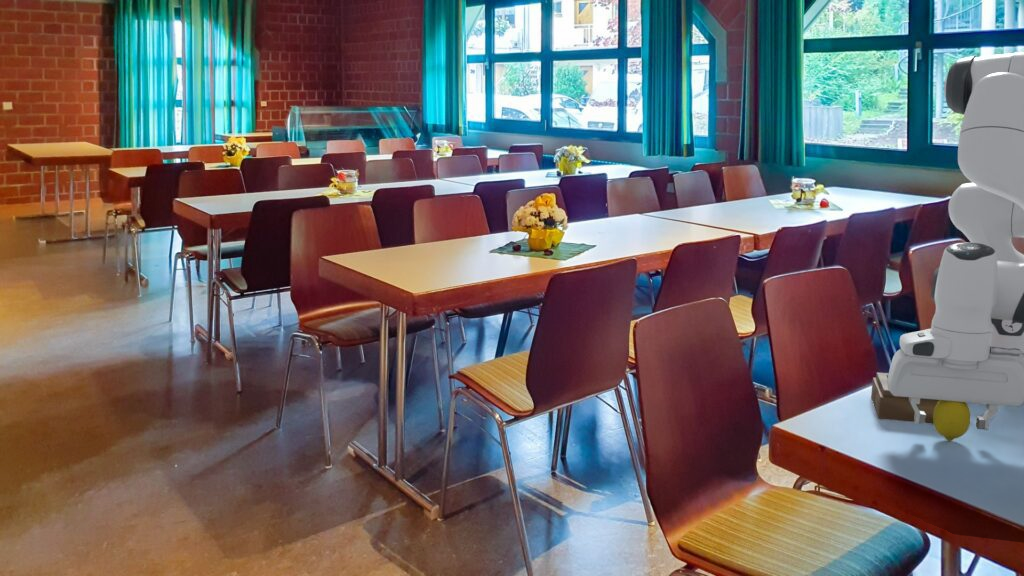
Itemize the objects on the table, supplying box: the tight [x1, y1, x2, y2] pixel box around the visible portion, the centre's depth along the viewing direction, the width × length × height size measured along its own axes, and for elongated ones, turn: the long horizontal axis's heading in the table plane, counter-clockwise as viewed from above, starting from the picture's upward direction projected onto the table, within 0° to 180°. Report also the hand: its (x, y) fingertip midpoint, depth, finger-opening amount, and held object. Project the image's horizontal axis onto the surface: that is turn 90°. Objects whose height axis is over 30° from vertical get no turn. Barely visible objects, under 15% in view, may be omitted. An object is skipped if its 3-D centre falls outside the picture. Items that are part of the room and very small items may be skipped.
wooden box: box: [870, 372, 940, 425], centre depth 164 cm, size 12×12×5 cm
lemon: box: [933, 400, 971, 442], centre depth 149 cm, size 6×6×8 cm
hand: (950, 425), depth 149 cm, fingers open, 8 cm apart
